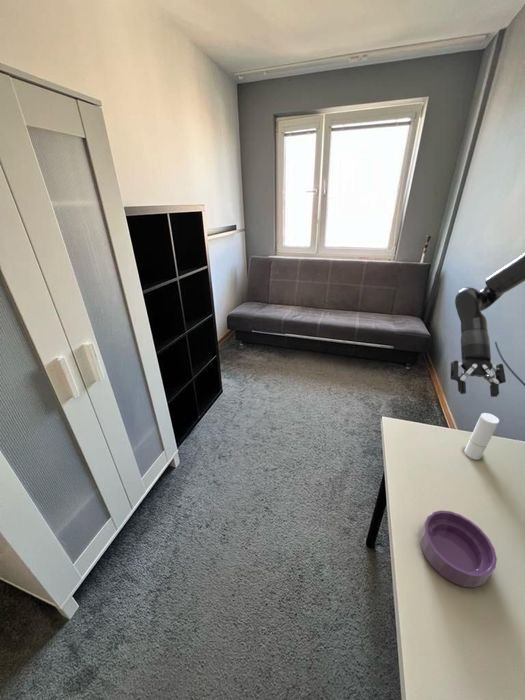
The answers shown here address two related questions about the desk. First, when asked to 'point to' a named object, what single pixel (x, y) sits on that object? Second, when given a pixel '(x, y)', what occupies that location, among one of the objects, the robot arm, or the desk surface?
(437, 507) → the desk surface
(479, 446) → the tube
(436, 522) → the bowl
